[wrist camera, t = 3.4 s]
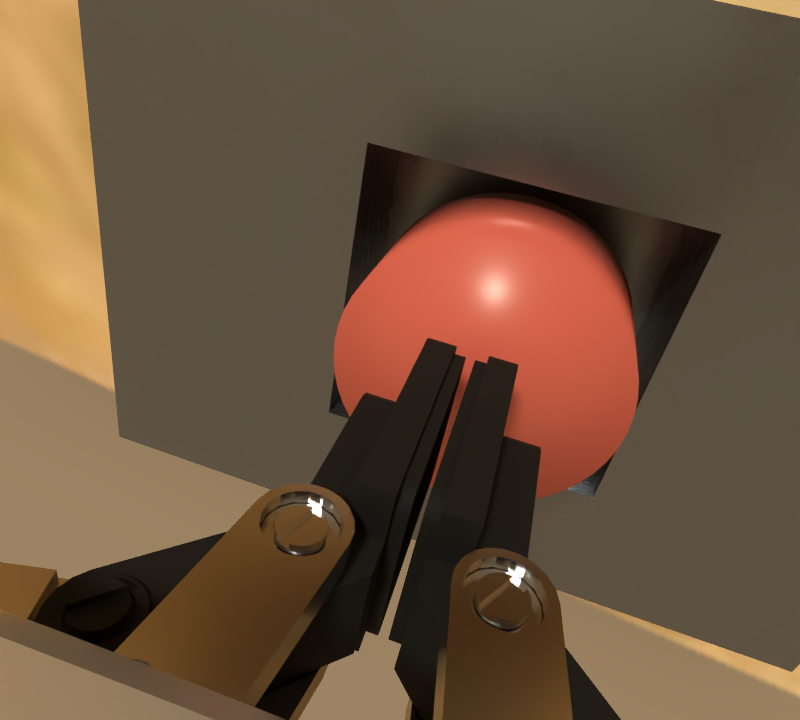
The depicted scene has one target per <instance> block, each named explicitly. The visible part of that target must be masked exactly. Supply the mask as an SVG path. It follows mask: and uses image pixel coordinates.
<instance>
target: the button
mask: <svg viewBox="0 0 800 720" xmlns="http://www.w3.org/2000/svg"><path fill="white" fill-rule="evenodd" d="M427 338H431V339H434V340H438V341H441V342H444V343H448V344H451V345H455V346H457V349H456V353H455V354H457V355H460V356H464V357H466V359H465V363H464V367H463V370H462V374H461V377H460V381H459V385H458V388H457V392H456V395H455V399H454V402H453V406H452V410H451V413H450V417H449V420H448V424H447V427H446V431H445V434H444V438H443V442H442V445H441V449H440V452H439V456H438V459H437V463H436V466H435V470H434V473H433V476H432V480H431V483H430V486H429V487H431V488H432V487H433V484H434V481H435V478H436V475H437V472H438V469H439V466H440V463H441V460H442V457H443V454H444V451H445V448H446V445H447V442H448V439H449V436H450V433H451V430H452V427H453V424H454V421H455V419H456V416H457V413H458V410H459V407H460V404H461V401H462V398H463V395H464V392H465V389H466V386H467V383H468V380H469V377H470V374H471V371H472V368H473V365H474V362H475V360H477V361H480V362H484V363H487V361H488V358H489V356H492V357H495V358H498V359H502V360H505V361H508V362H512V363H515V364H518V370H517V375H516V379H515V384H514V389H513V393H512V398H511V403H510V407H509V412H508V416H507V421H506V426H505V430H504V435H503V436H507V437H510V438H513V439H516V440H519V441H523V442H526V443H529V444H532V445H535V446H538V447H540V448H541V457H540V465H539V473H538V481H537V489H536V497H535V499H537V498H541V497H545V496H549V495H552V494H555V493H558V492H560V491H563V490H566V489H568V488H570V487H572V486H574V485H576V484H578V483H580V482H581V481H583V480H584V479H586V478H587V477H589V476H590V475H592V474H593V473H595V472H596V471H597V470H598V469H599V468H600V467H601V466H603V465H604V464H605V463H606V462H607V461H608V460H609V459H610V458H611V456H612V455H613V454H614V453H615V451H616V450H617V449H618V448H619V446H620V445H621V443H622V441H623V440H624V438H625V436H626V435H627V433H628V431H629V428H630V426H631V423H632V421H633V418H634V415H635V410H636V406H637V401H638V389H639V375H638V364H637V353H636V341H635V330H634V318H633V308H632V299H631V292H630V289H629V285H628V281H627V278H626V276H625V273H624V271H623V269H622V267H621V264H620V262H619V260H618V259H617V257H616V256H615V254H614V253H613V251H612V249H611V248H610V247H609V245H608V244H607V243H606V242H605V241H604V240H603V238H602V237H601V236H600V235H599V234H598V233H597V232H596V231H595V230H594V229H593V228H591V227H590V226H589V225H588V224H587V223H586V222H585V221H583V220H582V219H580V218H579V217H577V216H576V215H574V214H573V213H571V212H569V211H567V210H565V209H563V208H561V207H559V206H557V205H555V204H553V203H550V202H547V201H544V200H541V199H538V198H535V197H531V196H525V195H520V194H512V193H485V194H477V195H472V196H467V197H462V198H459V199H456V200H453V201H451V202H448V203H445V204H443V205H441V206H439V207H437V208H435V209H433V210H431V211H430V212H428V213H427V214H425V215H424V216H423V217H421V218H420V219H418V220H417V221H416V222H415V223H414V224H413V225H412V226H411V227H409V228H408V229H407V230H406V231H405V232H404V234H403V235H402V236H401V237H400V238H399V240H398V241H397V242H396V243H395V244H394V246H393V247H392V248H391V249H390V250H389V252H388V253H387V254H386V255H385V256H384V257H383V259H382V260H381V261H380V262H379V263H378V265H377V266H376V267H375V268H374V269H373V271H372V272H371V273H370V274H369V275H368V277H367V278H366V279H365V280H364V281H363V283H362V284H361V285H360V286H359V288H358V289H357V290H356V291H355V293H354V294H353V295H352V297H351V299H350V300H349V302H348V304H347V306H346V307H345V309H344V311H343V314H342V316H341V319H340V322H339V324H338V328H337V332H336V337H335V342H334V357H333V358H334V371H335V377H336V382H337V387H338V391H339V393H340V396H341V399H342V402H343V404H344V407H345V409H346V411H347V412H348V414H349V416H351V414H352V413H353V411H354V409H355V407H356V406H357V404H358V402H359V401H360V399H361V397H362V396H363V395H364V394H365V393H369V394H373V395H376V396H379V397H382V398H385V399H389V400H392V401H395V402H396V400H397V398H398V396H399V394H400V392H401V390H402V388H403V386H404V384H405V382H406V380H407V378H408V376H409V374H410V372H411V370H412V368H413V366H414V364H415V362H416V360H417V358H418V356H419V354H420V352H421V350H422V348H423V346H424V344H425V342H426V340H427Z"/></svg>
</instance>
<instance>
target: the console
mask: <svg viewBox="0 0 800 720" xmlns="http://www.w3.org/2000/svg"><path fill="white" fill-rule="evenodd" d="M78 6H79V16H80V27H81V37H82V48H83V58H84V69H85V79H86V90H87V100H88V111H89V121H90V132H91V142H92V153H93V163H94V174H95V184H96V195H97V205H98V216H99V226H100V236H101V247H102V257H103V268H104V278H105V289H106V299H107V310H108V320H109V331H110V341H111V352H112V362H113V373H114V383H115V394H116V404H117V415H118V425H119V436H120V437H123V438H126V439H128V440H131V441H134V442H137V443H140V444H143V445H146V446H149V447H151V448H154V449H157V450H160V451H163V452H165V453H168V454H171V455H174V456H177V457H180V458H183V459H186V460H188V461H191V462H194V463H197V464H200V465H203V466H206V467H208V468H211V469H214V470H217V471H220V472H223V473H226V474H229V475H231V476H234V477H237V478H240V479H243V480H246V481H248V482H251V483H255V484H257V485H260V486H263V487H265V488H268V489H271V490H273V489H275V488H278V487H280V486H283V485H289V484H296V483H302V484H311V482H312V481H313V479H314V477H315V476H316V474H317V472H318V471H319V469H320V467H321V465H322V464H323V462H324V460H325V459H326V457H327V455H328V453H329V452H330V450H331V448H332V447H333V445H334V443H335V442H336V440H337V438H338V436H339V435H340V433H341V431H342V430H343V428H344V426H345V425H346V423H347V421H348V419H349V418H350V416H349V414H348V412H347V411H346V409H345V407H344V404H343V402H342V399H341V396H340V393H339V391H338V387H337V382H336V377H335V371H334V358H333V357H334V342H335V337H336V332H337V328H338V324H339V322H340V319H341V316H342V314H343V311H344V309H345V307H346V306H347V304H348V302H349V300H350V299H351V297H352V295H353V294H354V293H355V291H356V290H357V289H358V288H359V286H360V285H361V284H362V283H363V281H364V280H365V279H366V278H367V277H368V275H369V274H370V273H371V272H372V271H373V269H374V268H375V267H376V266H377V265H378V263H379V262H380V261H381V260H382V259H383V257H384V256H385V255H386V254H387V253H388V252H389V250H390V249H391V248H392V247H393V246H394V244H395V243H396V242H397V241H398V240H399V238H400V237H401V236H402V235H403V234H404V232H405V231H406V230H407V229H408V228H409V227H411V226H412V225H413V224H414V223H415V222H416V221H417V220H418V219H420V218H421V217H423V216H424V215H425V214H427V213H428V212H430V211H431V210H433V209H435V208H437V207H439V206H441V205H443V204H445V203H448V202H451V201H453V200H456V199H459V198H462V197H467V196H472V195H477V194H485V193H512V194H520V195H525V196H531V197H535V198H538V199H541V200H544V201H547V202H550V203H553V204H555V205H557V206H559V207H561V208H563V209H565V210H567V211H569V212H571V213H573V214H574V215H576V216H577V217H579V218H580V219H582V220H583V221H585V222H586V223H587V224H588V225H589V226H590V227H591V228H593V229H594V230H595V231H596V232H597V233H598V234H599V235H600V236H601V237H602V238H603V240H604V241H605V242H606V243H607V244H608V245H609V247H610V248H611V249H612V251H613V253H614V254H615V256H616V257H617V259H618V260H619V262H620V264H621V267H622V269H623V271H624V273H625V276H626V278H627V281H628V285H629V289H630V292H631V299H632V308H633V318H634V330H635V341H636V353H637V364H638V375H639V389H638V401H637V406H636V410H635V415H634V418H633V421H632V423H631V426H630V428H629V431H628V433H627V435H626V436H625V438H624V440H623V441H622V443H621V445H620V446H619V448H618V449H617V450H616V451H615V453H614V454H613V455H612V456H611V458H610V459H609V460H608V461H607V462H606V463H605V464H604V465H603V466H601V467H600V468H599V469H598V470H597V471H596V472H595V473H593V474H592V475H590V476H589V477H587V478H586V479H584V480H583V481H581V482H580V483H578V484H576V485H574V486H572V487H570V488H568V489H566V490H563V491H560V492H558V493H555V494H552V495H549V496H545V497H541V498H537V499H535V505H534V513H533V521H532V529H531V537H530V545H529V553H528V559H529V560H530V561H532V562H533V563H535V564H536V565H537V566H538V567H539V568H540V569H541V570H542V571H543V572H544V573H545V574H546V575H547V576H548V577H549V579H550V581H551V582H552V584H553V586H554V587H555V589H557V590H560V591H562V592H565V593H568V594H571V595H574V596H577V597H580V598H582V599H585V600H588V601H591V602H594V603H597V604H600V605H602V606H605V607H608V608H611V609H614V610H617V611H620V612H622V613H625V614H628V615H631V616H634V617H637V618H640V619H642V620H645V621H648V622H651V623H654V624H657V625H660V626H662V627H665V628H668V629H671V630H674V631H677V632H680V633H682V634H685V635H688V636H691V637H694V638H697V639H700V640H702V641H705V642H708V643H711V644H714V645H717V646H720V647H722V648H725V649H728V650H731V651H734V652H737V653H740V654H742V655H745V656H748V657H751V658H754V659H757V660H760V661H762V662H765V663H768V664H771V665H774V666H777V667H780V668H782V669H785V670H788V671H791V672H792V671H793V670H794V669H795V668H796V667H797V666H798V665H799V664H800V18H795V17H790V16H786V15H781V14H776V13H771V12H766V11H761V10H757V9H752V8H747V7H742V6H737V5H733V4H728V3H723V2H718V1H713V0H78ZM431 490H432V488H431V487H429V489H428V492H427V495H426V497H425V500H424V503H423V506H422V509H421V512H420V515H419V518H418V521H417V524H416V527H415V529H414V532H413V535H412V538H411V539H414V540H417V536H418V533H419V529H420V526H421V522H422V519H423V515H424V512H425V509H426V506H427V502H428V499H429V496H430V493H431Z"/></svg>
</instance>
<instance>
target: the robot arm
mask: <svg viewBox="0 0 800 720" xmlns="http://www.w3.org/2000/svg"><path fill="white" fill-rule="evenodd" d="M456 349H457V346H455V345H451V344H448V343H444V342H441V341H438V340H434V339H431V338H427V340H426V342H425V344H424V346H423V348H422V350H421V352H420V354H419V356H418V358H417V360H416V362H415V364H414V366H413V368H412V370H411V372H410V374H409V376H408V378H407V380H406V382H405V384H404V386H403V388H402V390H401V392H400V394H399V396H398V398H397V400H396V402H395V401H392V400H389V399H385V398H382V397H379V396H376V395H373V394H369V393H365V394H364V395H363V396H362V397H361V399H360V401H359V402H358V404H357V406H356V407H355V409H354V411H353V413H352V414H351V416H350V418H349V419H348V421H347V423H346V425H345V426H344V428H343V430H342V431H341V433H340V435H339V436H338V438H337V440H336V442H335V443H334V445H333V447H332V448H331V450H330V452H329V453H328V455H327V457H326V459H325V460H324V462H323V464H322V465H321V467H320V469H319V471H318V472H317V474H316V476H315V477H314V479H313V481H312V482H311V484H302V483H296V484H289V485H283V486H280V487H278V488H275V489H273V490H270V491H268V492H267V493H266V494H264V495H263V496H262V497H260V498H259V499H258V500H257V501H256V502H255V503H254V504H253V505H252V506H251V507H250V508H249V509H248V510H247V511H246V513H245V514H244V515H243V516H242V517H241V518H240V519H239V520H238V521H237V522H236V523H235V524H234V525H233V526H232V527H231V528H230V530H229V531H228V532H224V533H221V534H217V535H213V536H210V537H207V538H203V539H199V540H196V541H192V542H189V543H185V544H181V545H178V546H174V547H171V548H167V549H164V550H160V551H157V552H153V553H149V554H146V555H142V556H139V557H135V558H132V559H128V560H124V561H121V562H118V563H114V564H110V565H107V566H103V567H100V568H96V569H92V570H90V571H87V572H85V573H82V574H80V575H78V576H75V577H73V578H71V579H62V578H58V576H57V571H56V570H53V569H46V568H39V567H31V566H23V565H16V564H9V563H2V562H0V720H298V719H299V718H300V716H301V714H302V713H303V711H304V709H305V707H306V706H307V704H308V702H309V701H310V699H311V697H312V696H313V694H314V692H315V691H316V689H317V687H318V685H319V684H320V682H321V680H322V679H323V676H324V674H325V671H326V669H327V666H328V664H330V663H332V662H334V661H337V660H339V659H341V658H344V657H346V656H349V655H351V654H353V653H354V650H356V651H359V648H360V646H361V643H362V640H363V637H364V634H365V632H366V631H367V632H370V633H373V634H375V635H378V634H379V631H380V628H381V626H382V623H383V620H384V617H385V614H386V610H387V608H388V605H389V602H390V599H391V596H392V593H393V591H394V587H395V585H396V582H397V579H398V576H399V573H400V570H401V567H402V564H403V561H404V559H405V556H406V553H407V550H408V547H409V544H410V541H411V538H412V535H413V532H414V529H415V527H416V524H417V521H418V518H419V515H420V512H421V509H422V506H423V503H424V500H425V497H426V495H427V492H428V489H429V486H430V483H431V480H432V476H433V473H434V470H435V466H436V463H437V459H438V456H439V452H440V449H441V445H442V442H443V438H444V434H445V431H446V427H447V424H448V420H449V417H450V413H451V410H452V406H453V402H454V399H455V395H456V392H457V388H458V385H459V381H460V377H461V374H462V370H463V367H464V363H465V359H466V357H464V356H460V355H457V354H455V353H456ZM517 370H518V364H515V363H512V362H508V361H505V360H502V359H498V358H495V357H492V356H489V358H488V361H487V363H484V362H480V361H477V360H475V362H474V365H473V368H472V371H471V374H470V377H469V380H468V383H467V386H466V389H465V392H464V395H463V398H462V401H461V404H460V407H459V410H458V413H457V416H456V419H455V421H454V424H453V427H452V430H451V433H450V436H449V439H448V442H447V445H446V448H445V451H444V454H443V457H442V460H441V463H440V466H439V469H438V472H437V475H436V478H435V481H434V484H433V487H432V490H431V493H430V496H429V499H428V502H427V506H426V509H425V512H424V515H423V519H422V522H421V526H420V529H419V533H418V536H417V540H416V543H415V547H414V550H413V554H412V558H411V562H410V565H409V568H408V572H407V575H406V579H405V582H404V586H403V589H402V593H401V596H400V600H399V603H398V607H397V611H396V614H395V618H394V621H393V625H392V628H391V632H390V636H389V640H392V641H395V642H397V643H400V644H402V645H401V648H400V651H399V655H398V658H397V661H396V664H395V668H394V669H395V671H396V673H397V675H398V677H399V679H400V681H401V683H402V684H403V686H404V688H405V690H406V692H407V694H408V696H409V697H410V699H409V702H408V706H407V710H406V718H405V720H621V719H620V718H619V717H618V715H617V714H616V713H615V712H614V710H613V709H612V708H611V706H610V705H609V704H608V702H607V701H606V700H605V698H604V697H603V696H602V694H601V693H600V692H599V691H598V689H597V688H596V687H595V685H594V684H593V683H592V681H591V680H590V679H589V677H588V676H587V675H586V674H585V672H584V671H583V670H582V668H581V667H580V666H579V664H578V663H577V662H576V661H575V659H574V658H573V657H572V655H571V654H570V653H569V651H568V650H567V649H566V648H565V643H564V634H563V625H562V616H561V608H560V602H559V599H558V595H557V591H556V589H555V587H554V586H553V584H552V582H551V581H550V579H549V577H548V576H547V575H546V574H545V573H544V572H543V571H542V570H541V569H540V568H539V567H538V566H537V565H536V564H535V563H533V562H532V561H530V560H529V559H528V553H529V545H530V537H531V529H532V521H533V513H534V505H535V497H536V489H537V481H538V473H539V465H540V457H541V448H540V447H538V446H535V445H532V444H529V443H526V442H523V441H519V440H516V439H513V438H510V437H507V436H503V435H504V430H505V426H506V421H507V416H508V412H509V407H510V403H511V398H512V393H513V389H514V384H515V379H516V375H517Z"/></svg>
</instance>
